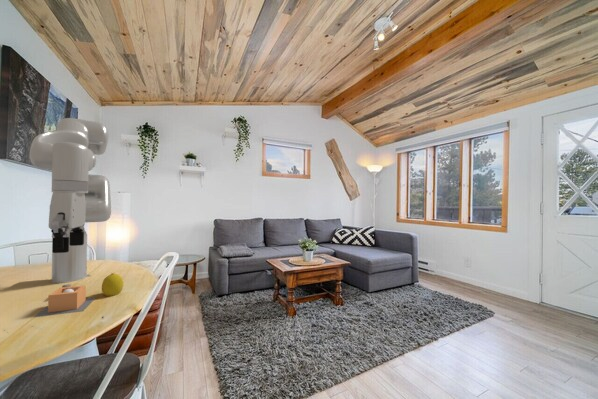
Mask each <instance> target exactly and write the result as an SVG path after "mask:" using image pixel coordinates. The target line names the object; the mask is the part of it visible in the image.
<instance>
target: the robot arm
mask: <svg viewBox="0 0 598 399" xmlns="http://www.w3.org/2000/svg"><path fill="white" fill-rule="evenodd" d="M108 142H109V132H108V129H107V127H106V125H104V124H103V123H102V122H97V121H92V120H85V119H81V118H75V117H73V118H72V117H65V118H63V119H60V120H59V121H58V122H57V125H56V130H55V129H54V130H52V131H48V132H43V133H42V132H41V133H40V134H37V135H36V136H35V137H34V138H33V140H32V142H31V145H30V147H29V148H30V149H29V160H30V162H31V164H32V165H33V166H34V167H36V168H37V169H41V170H50V171H51V191H50V192H51V193H52V195H51V199H50V205H49V212H48V213H49V214H48V228H49V229H50V232H51V240H52V244H51V245H52V247H51V248H52V250H51V283H54V284H65V283H72V282H76V281H80V280H83V279H85V278H87V277H92V275H90V274H87V268H88V265H87V264H88V263H87V262H88V258H87V257H88V234H87V231H86V229H85V224H86V223H101V222H106V221H108V220H109V219H110V218H111V216H112V203H111V202H112V200H111V186H110V185H111V184H110V181H109V179H108V178H107V177H106V176H105V175H100V174H92V173H91V174H90V173H89V172H91V171H92V170H93V169H94V168H95V167H96V164H97V157H96V156H97V155H98V156H100V155H104V153H106V150H107V146H108Z"/></svg>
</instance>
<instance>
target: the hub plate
mask: <svg viewBox="0 0 598 399" xmlns="http://www.w3.org/2000/svg"><path fill="white" fill-rule="evenodd" d="M67 292H74V290H73V289H66V290H65V291H63V293H67ZM95 299H97V296H96V297H87V298H86V301H85V302H84V303H83V304H82V305H81V306H80V307H79V308H77V309H73V310H65V311H56V312H48V306H46V307H45V308H44V309H42V310H41V311H40V312H38V313H37V314H35V315H34V316H33V318H38V317H39V318H41V317H47V316H54V315H55V316H56V315H62V314H71V313H79V312H84V311H85V310H86V309H87V308H88V307H89V306H90V305H91V304H92V302H94V301H95Z"/></svg>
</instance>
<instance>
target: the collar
mask: <svg viewBox="0 0 598 399" xmlns="http://www.w3.org/2000/svg"><path fill="white" fill-rule="evenodd" d="M66 289H73V290H74V292H67V293H63V291H65V290H66ZM86 294H87V285H77V286H75V285H74V286H71V287H63V288H62V287H59V288H57V289H56V290H54V291H53V292H51V293H50V294H48V295H47V296H48V297H47V299H48V301H47V305H48V306H47V307H48V312H56V311H65V310H73V309H77V308H79V307H80V306H81V305H82V304H83V303H84V302H85V301H86V297H87V295H86Z"/></svg>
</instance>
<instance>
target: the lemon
mask: <svg viewBox="0 0 598 399" xmlns="http://www.w3.org/2000/svg"><path fill="white" fill-rule="evenodd" d="M123 288H124V280H123V277H122V276H121V275H120V274H117V273H114V272H113V273H112V272H111V274H109V275H106V277H104V279H103V280H102V284H101V293H102V295H104V296H105V297H112V296H117V295H119V294H120V293H121V292H122V291H123Z"/></svg>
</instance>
